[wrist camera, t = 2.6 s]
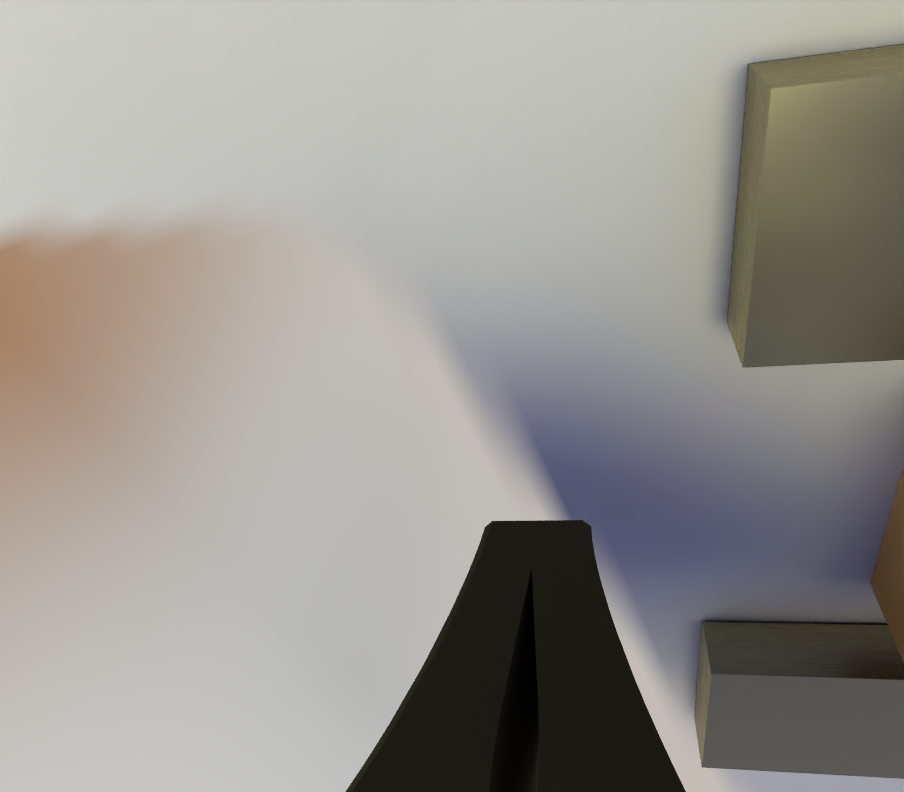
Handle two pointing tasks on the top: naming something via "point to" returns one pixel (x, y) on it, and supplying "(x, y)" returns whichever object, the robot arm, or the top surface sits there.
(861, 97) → the slot rails
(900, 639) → the block
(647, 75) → the top surface
